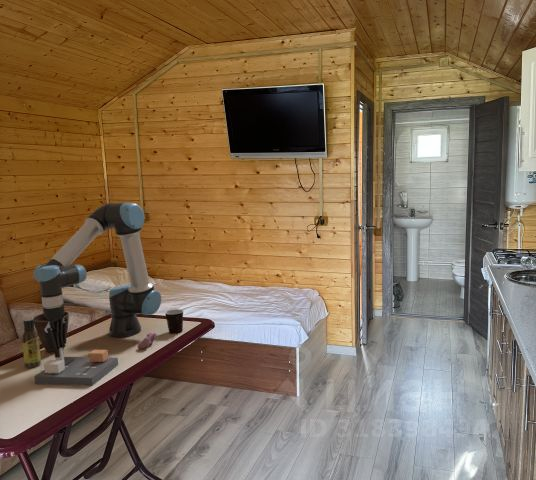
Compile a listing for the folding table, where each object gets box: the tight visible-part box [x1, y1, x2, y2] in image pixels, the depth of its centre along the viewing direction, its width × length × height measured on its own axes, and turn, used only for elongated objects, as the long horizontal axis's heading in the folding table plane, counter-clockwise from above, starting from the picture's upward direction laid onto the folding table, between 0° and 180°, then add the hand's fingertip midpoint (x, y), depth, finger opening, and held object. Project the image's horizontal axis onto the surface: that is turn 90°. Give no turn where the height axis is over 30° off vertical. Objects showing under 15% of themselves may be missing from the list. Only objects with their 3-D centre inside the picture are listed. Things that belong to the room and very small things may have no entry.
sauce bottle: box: [21, 317, 42, 369], centre depth 211 cm, size 6×6×20 cm
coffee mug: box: [164, 308, 184, 335], centre depth 244 cm, size 12×9×10 cm
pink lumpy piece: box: [137, 332, 157, 350], centre depth 228 cm, size 10×5×7 cm, turn 169°
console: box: [34, 356, 119, 386], centre depth 200 cm, size 20×24×3 cm
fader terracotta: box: [88, 349, 109, 362], centre depth 205 cm, size 4×6×4 cm, turn 79°
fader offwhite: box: [43, 359, 65, 373], centre depth 196 cm, size 4×6×4 cm, turn 79°
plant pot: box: [33, 311, 70, 354], centre depth 229 cm, size 15×15×16 cm
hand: (60, 364), depth 199 cm, fingers closed
